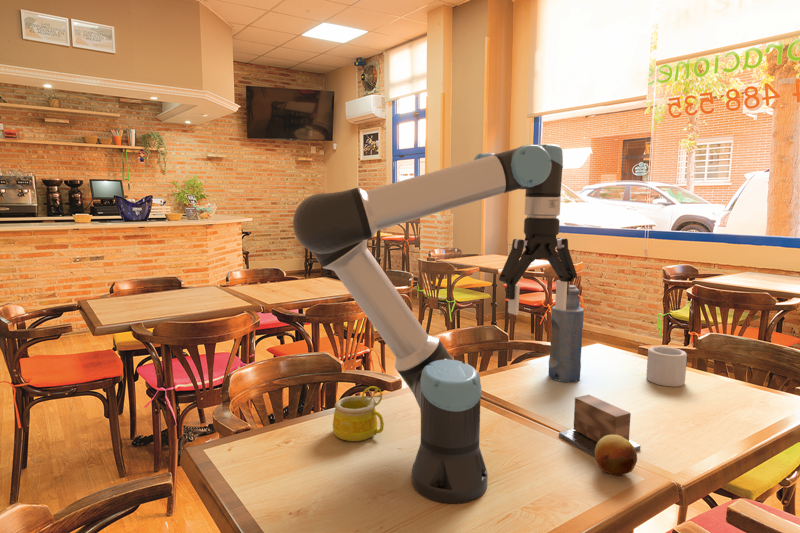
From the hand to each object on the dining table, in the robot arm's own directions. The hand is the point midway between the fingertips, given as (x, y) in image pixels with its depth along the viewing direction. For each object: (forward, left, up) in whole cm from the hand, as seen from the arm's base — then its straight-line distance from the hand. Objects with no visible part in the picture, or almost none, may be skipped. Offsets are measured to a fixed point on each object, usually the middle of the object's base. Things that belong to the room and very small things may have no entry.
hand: (537, 311), depth 112 cm
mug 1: (-35, +21, -32) cm, 52 cm away
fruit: (+6, -18, -32) cm, 37 cm away
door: (+14, -7, -30) cm, 34 cm away
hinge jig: (+14, -7, -31) cm, 35 cm away
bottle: (+39, +30, -32) cm, 58 cm away
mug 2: (+66, +15, -32) cm, 75 cm away
